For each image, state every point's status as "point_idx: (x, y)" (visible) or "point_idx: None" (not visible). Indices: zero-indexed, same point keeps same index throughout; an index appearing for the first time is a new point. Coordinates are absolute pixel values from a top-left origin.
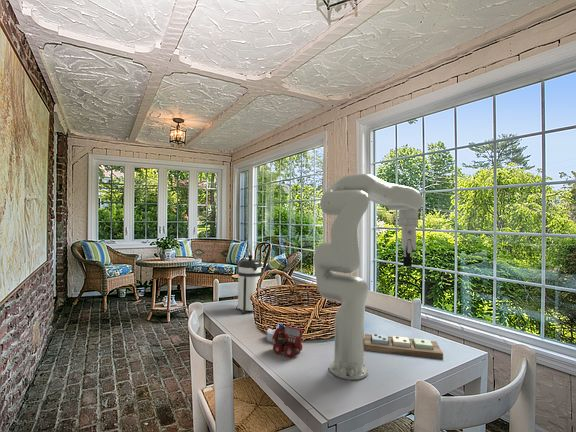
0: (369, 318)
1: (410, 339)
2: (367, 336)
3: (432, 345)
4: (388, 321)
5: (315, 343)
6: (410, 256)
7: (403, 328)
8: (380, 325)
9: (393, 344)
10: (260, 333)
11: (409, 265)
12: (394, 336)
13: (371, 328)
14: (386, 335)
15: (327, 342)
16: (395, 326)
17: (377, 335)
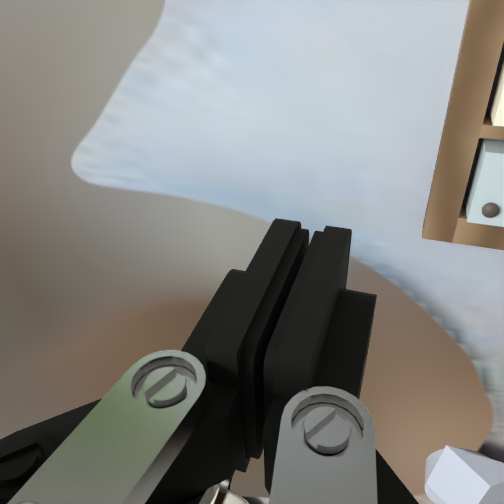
0: (136, 167)
1: (483, 8)
2: (458, 231)
3: None
4: (138, 79)
5: (499, 391)
6: (370, 436)
7: (219, 7)
8: (216, 129)
9: None
10: (421, 497)
11: (344, 267)
12: (501, 115)
13: (274, 177)
14: (487, 156)
15: (485, 357)
16: (203, 51)
17: (490, 201)
